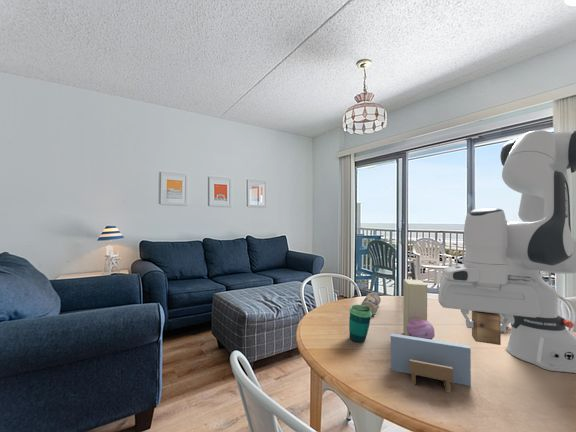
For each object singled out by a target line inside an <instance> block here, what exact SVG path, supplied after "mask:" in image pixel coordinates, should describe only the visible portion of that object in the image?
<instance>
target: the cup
mask: <svg viewBox="0 0 576 432" xmlns="http://www.w3.org/2000/svg"><path fill="white" fill-rule="evenodd" d="M348 311H349V321H348V325H349V327H348V329H349V330H348V331H349V334H348V335H349V339H350V341H352V342H354V343H361V344H362V343H364V342H366V339H367V336H368V332H369V328H370V324H371V318H372V316H373V315H372V313H371V312H370V308H369V307H368V306H365V305H361V304H354V305H351V307H350V308H349V310H348Z"/></svg>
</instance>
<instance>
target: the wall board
mask: <svg viewBox="0 0 576 432" xmlns="http://www.w3.org/2000/svg"><path fill="white" fill-rule="evenodd" d="M471 354H472V353H471V347H470V345H469V344H462V343H456V342H449V341H443V340H437V339H432V340H431V339H425V338H418V337H412V336H405V334H396V333H390V370H391V371H394V372H400V373H404V374H409V375H410V377H411V384H412V385H414V386H415V385H416V384H417V376H419V377H422V378H428V379H433V380H438V381H442V382H443V385H444V389H445V392H448V393H451V383H453V384H458V385H462V386H463V385H464V386H469V387H471V386H472V381H471V380H472V374H471V372H472V371H471V370H472V369H471V368H472V367H471V365H472V362H471V360H472V359H471Z"/></svg>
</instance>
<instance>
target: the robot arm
mask: <svg viewBox="0 0 576 432" xmlns="http://www.w3.org/2000/svg"><path fill="white" fill-rule="evenodd" d="M499 157H500V162H501V165H502V166H503V167H502V171H501V172H502V173H501V178H502V181H503V182H504V184H505V185H506V186H507V187H508V188H509V189H511V190H513V191H515V192H517V193H520V194H521V198H520V203H519V206H518V207H519V208H518V213H517V214H518V217H519V219H520V220H521V221H508V220H507V219H506V213H505V211H504V210H503V209H502V208H496V207H486V208H477V209H476V208H475V209H473V210H470V211H468V212H467V213H466V215H465V216H466V217H465V219H464V228H463V245H464V249H465V254H464V257H463V263H462V264H457V265H453V266H448V267H447V266H446V267H444V269H443V275H444V277H443V278H442V279H441V281H440V282H439V287H438V303H439V305H440V306H441V307H442V308H444V309H455V310H460V312H461V315H462V316H463V317H464V319H465V325H466V328H467V329H472V328H473V329H474V321H473V320H472V318H471V319H470V318H469V317H468V315H470V311H471V312H472V311H479V312H488V313H497V314H502V316H503V317H504V318H503V320H502V321H501V323H500V329H501V333H504V334H507V327H508V326H509V324H510V326H511V327H510V334H509V339H508V341H507V346H506V347H505V349H506V351H507V352H508V353H509V354H510V355H512V356H514V357H515V358H518V359H520V360H522V361H525V362H527V363H530V364H533V365H536V366H537V367H539V368H542V369H544V370H547V371H553V372H562V373H563V372H564V373H574V374H576V335H575V334H574V333H572V332H571V331H570V330H568V328H569V329H572V328H574V327H575V323H574V322H573V321H571V320H569V319H566V318H564V317H562V316H560V315H558V314H559V312H558V311H559V309H558V307H559V306H558V302H559V301H558V293H557V291H556V289H555V288H554V287H553V286H552V285H551V284H549V283H548V282H546V281H545V280H544V279H543V278H542V276H541V275H540V273H539V272H545V273H550V274H564V275H565V274H568V275H569V274H576V239H575V238H574V237H573V235H572V234H573V233H572V228H571V202H570V189H569V175H568V174H569V173H568V170H569V169H570V173H571V174H573V173H575V172H576V130H574V131H565V132H564V131H562V132H560V131H559V132H550V131H546V130H541V129H540V130H539V129H537V130H531V131H528V132H526V133H523V134H522V135H521V136H519V137H518V138H514V139H511V140H508V141H507V142H506V143H505V144H504V145H502V148H501V150H500V156H499ZM566 327H567V328H566Z"/></svg>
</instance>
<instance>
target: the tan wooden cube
mask: <svg viewBox="0 0 576 432" xmlns="http://www.w3.org/2000/svg"><path fill="white" fill-rule="evenodd" d="M471 320H473V321H474V329H473V328H471V337H472V339H474V341H475V343H476V342H477V343H484V344H491V345H496V346H501V345H502V344H501V339H502V338H501V333H502V332H501V329H500V315H499V314H497V313H488V312H479V311H471Z"/></svg>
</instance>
